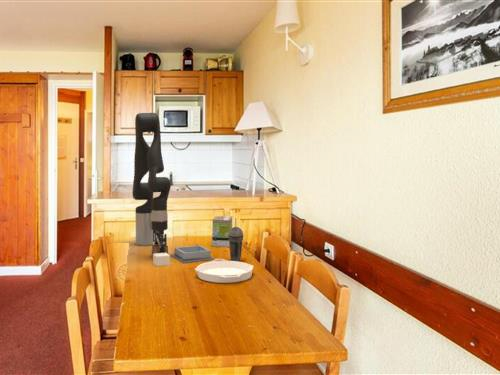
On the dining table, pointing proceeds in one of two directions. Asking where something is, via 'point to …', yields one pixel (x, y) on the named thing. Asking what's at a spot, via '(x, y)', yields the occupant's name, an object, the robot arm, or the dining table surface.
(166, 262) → the cream block
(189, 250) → the grey shallow box
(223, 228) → the tea box
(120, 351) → the dining table surface
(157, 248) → the walnut block
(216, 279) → the pan
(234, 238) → the beverage cup
